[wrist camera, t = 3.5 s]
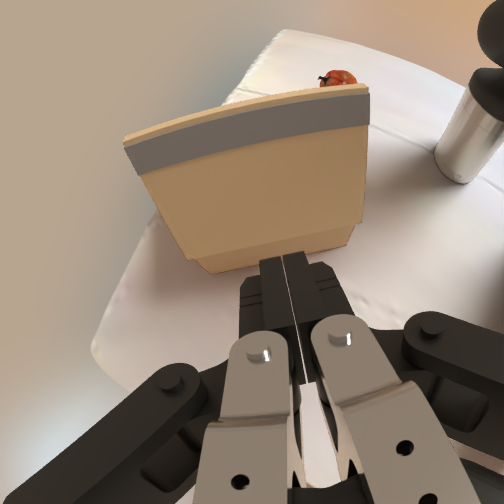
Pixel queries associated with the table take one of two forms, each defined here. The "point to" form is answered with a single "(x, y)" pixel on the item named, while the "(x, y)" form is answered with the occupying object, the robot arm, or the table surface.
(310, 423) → the table surface
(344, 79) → the pomegranate
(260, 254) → the cardboard box
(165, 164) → the box lid
